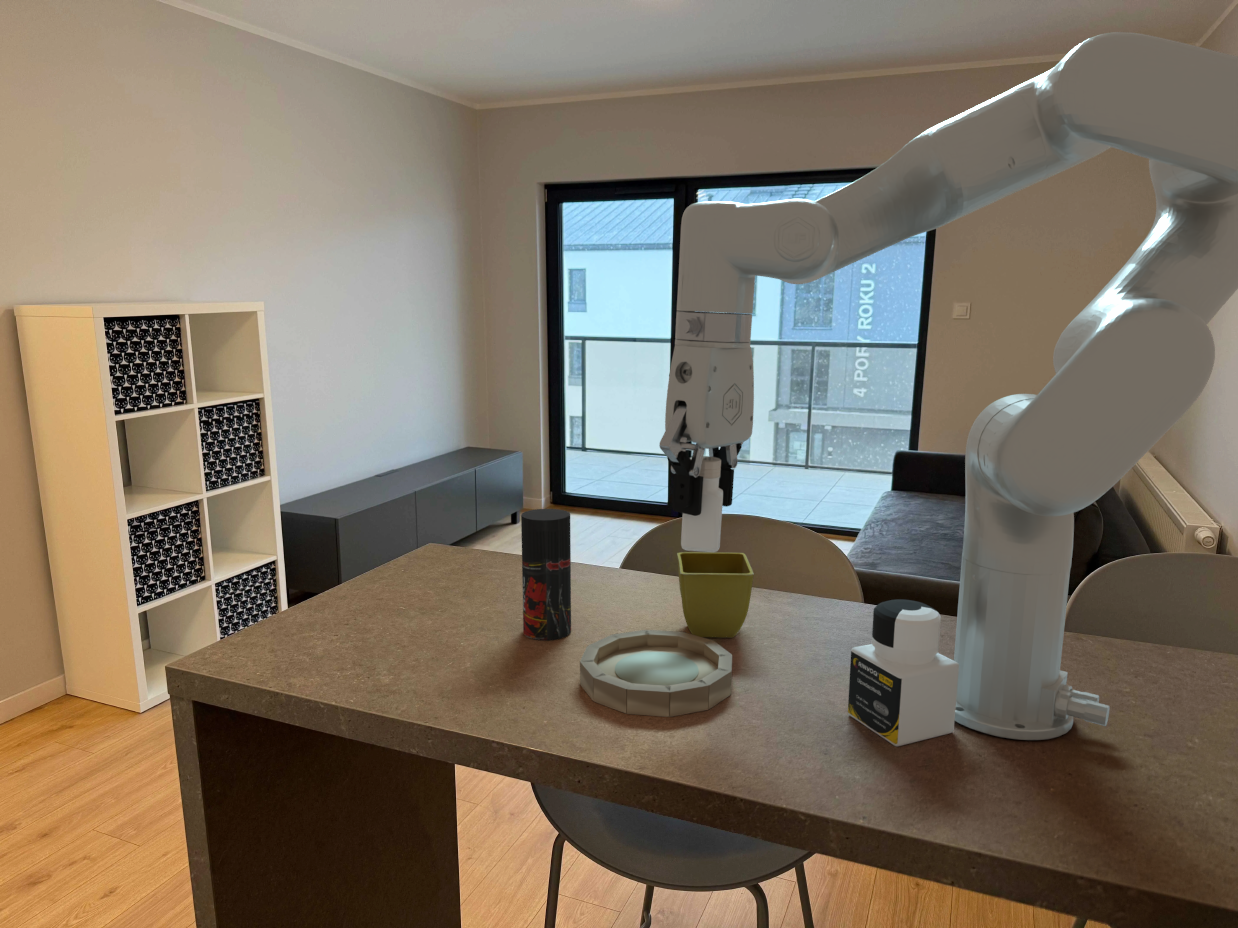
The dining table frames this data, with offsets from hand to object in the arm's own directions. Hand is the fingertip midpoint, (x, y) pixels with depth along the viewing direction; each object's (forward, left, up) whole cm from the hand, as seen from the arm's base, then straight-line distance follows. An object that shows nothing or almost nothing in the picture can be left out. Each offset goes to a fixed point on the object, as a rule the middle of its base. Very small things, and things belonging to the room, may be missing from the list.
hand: (702, 506), depth 87 cm
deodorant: (+23, 0, -20) cm, 30 cm away
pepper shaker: (0, 0, -5) cm, 5 cm away
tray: (+4, +3, -19) cm, 20 cm away
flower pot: (+7, -13, -20) cm, 24 cm away
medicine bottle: (-20, -4, -20) cm, 29 cm away
